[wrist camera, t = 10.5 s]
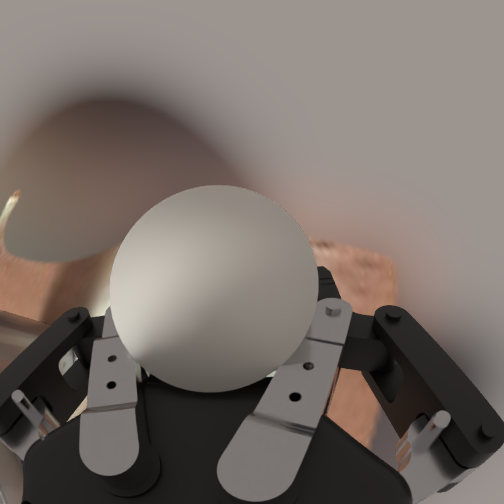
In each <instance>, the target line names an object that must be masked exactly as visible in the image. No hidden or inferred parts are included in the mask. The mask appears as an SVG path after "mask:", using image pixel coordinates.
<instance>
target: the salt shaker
mask: <svg viewBox="0 0 504 504" xmlns="http://www.w3.org/2000/svg"><path fill="white" fill-rule="evenodd" d="M109 296H110V308H111V313H112V318H113V321H114V324H115V327H116V330H117V332H118V334H119V337H120V339H121V341H122V343H123V344H124V346H125V347H126V349H127V350H128V352H129V353H130V354H131V356H132V357H133V358H134V359H135V360H136V361H137V362H138V363H139V364H140V365H141V366H142V367H143V368H144V369H145V370H147V371H148V372H149V373H150V374H152V375H154V376H155V377H157V378H158V379H160V380H162V381H164V382H166V383H168V384H170V385H173V386H175V387H178V388H182V389H185V390H189V391H197V392H224V391H230V390H235V389H238V388H242V387H245V386H248V385H250V384H253V383H255V382H257V381H259V380H261V379H263V378H265V377H266V376H268V375H269V374H271V373H272V372H274V371H277V369H278V367H279V366H281V365H282V364H283V363H284V362H285V361H287V360H288V359H289V357H290V356H291V355H292V354H293V353H294V352H295V350H296V349H297V348H298V347H299V345H300V343H301V342H302V340H303V339H304V337H305V335H306V334H307V331H308V329H309V327H310V325H311V322H312V320H313V316H314V313H315V309H316V306H317V298H318V271H317V264H316V260H315V256H314V253H313V250H312V247H311V245H310V243H309V241H308V239H307V237H306V235H305V233H304V232H303V230H302V229H301V227H300V226H299V224H298V223H297V222H296V221H295V220H294V218H293V217H292V216H291V215H290V214H289V213H288V212H287V211H286V210H284V209H283V208H282V207H281V206H280V205H278V204H277V203H275V202H274V201H272V200H271V199H269V198H267V197H265V196H263V195H261V194H259V193H256V192H254V191H251V190H248V189H244V188H240V187H235V186H225V185H210V186H202V187H197V188H192V189H189V190H185V191H182V192H180V193H177V194H174V195H173V196H171V197H168V198H167V199H165V200H163V201H162V202H160V203H158V204H157V205H155V206H154V207H153V208H151V209H150V210H149V211H148V212H146V213H145V214H144V215H143V216H142V217H141V218H140V219H139V220H138V221H137V222H136V223H135V225H134V226H133V227H132V229H131V230H130V231H129V232H128V234H127V236H126V237H125V239H124V241H123V242H122V244H121V246H120V248H119V250H118V253H117V255H116V258H115V261H114V264H113V267H112V273H111V278H110V289H109Z"/></svg>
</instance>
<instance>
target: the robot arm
mask: <svg viewBox="0 0 504 504" xmlns="http://www.w3.org/2000/svg"><path fill="white" fill-rule="evenodd" d="M317 271H318V298H317V306H316V309H315V313H314V316H313V320H312V322H311V325H310V327H309V329H308V331H307V334H306V335H305V337H304V339H303V340H302V342H301V343H300V345H299V347H298V348H297V349H296V350H295V352H294V353H293V354H292V355H291V356H290V357H289V359H288V360H287V361H285V362H284V363H283V364H282V365H281V366H279V367H278V369H277V371H276V373H275V375H274V377H265V378H263V379H261V380H259V381H257V382H255V383H253V384H250V385H248V386H245V387H242V388H238V389H235V390H230V391H224V392H197V391H189V390H185V389H182V388H178V387H175V386H173V385H170V384H168V383H166V382H164V381H162V380H160V379H158V378H157V377H155V376H154V375H152V374H150V373H149V372H148V371H147V370H145V369H144V368H143V367H142V366H141V365H140V364H139V363H138V362H137V361H136V360H135V359H134V358H133V357H132V356H131V354H130V353H129V352H128V350H127V349H126V347H125V346H124V344H123V343H122V341H121V339H120V337H119V334H118V332H117V330H116V327H115V324H114V321H113V318H112V313H111V308H110V307H109V308H108V309H107V310H106V313H105V316H98V317H92V318H91V317H90V314H89V312H88V310H87V309H86V308H83V307H78V308H73V309H71V310H69V311H67V312H66V313H64V314H63V315H62V316H61V317H60V318H59V319H57V320H56V321H55V322H54V323H53V324H52V325H48V324H45V323H43V322H40V321H36V320H32V319H29V318H26V317H22V316H19V315H16V314H13V313H9V312H6V311H1V310H0V442H1V443H2V444H3V445H4V446H5V447H6V448H8V449H9V450H10V451H12V452H13V453H14V454H15V455H16V456H18V457H19V458H20V459H21V460H22V461H23V495H22V501H21V504H417V503H419V502H420V501H422V500H424V499H426V498H428V497H429V496H431V495H432V494H434V493H436V492H445V491H448V490H450V489H451V488H452V487H454V486H455V485H457V484H458V483H459V482H461V481H462V480H463V479H464V478H466V477H467V476H468V475H470V474H471V473H472V472H473V471H475V470H476V469H477V468H478V467H479V466H480V465H482V464H483V463H484V462H485V461H486V460H487V459H488V458H490V457H491V456H492V455H493V454H494V453H495V452H496V451H497V450H498V449H499V448H500V447H501V446H502V445H503V443H504V422H503V421H502V419H501V418H500V416H499V415H498V414H497V413H496V411H495V410H494V409H493V408H492V406H491V405H490V404H489V402H488V401H487V400H486V399H485V398H484V396H483V395H482V394H481V393H480V391H479V390H478V389H477V388H476V387H475V386H474V384H473V383H472V382H471V381H470V380H469V379H468V377H467V376H466V375H465V374H464V373H463V372H462V370H461V369H460V368H459V367H458V366H457V365H456V363H455V362H454V361H453V360H452V359H451V358H450V357H449V356H448V354H447V353H446V352H445V351H444V350H443V349H442V348H441V347H440V346H439V345H438V343H437V342H435V340H434V339H433V338H432V337H431V336H430V335H429V334H428V333H427V332H426V331H425V330H424V328H423V327H422V326H421V325H420V324H419V323H418V322H417V321H416V320H415V319H414V318H413V317H412V316H411V315H410V314H409V313H408V312H407V311H406V310H404V309H403V308H400V307H397V306H392V305H386V306H382V307H380V308H378V309H377V310H376V311H375V314H374V316H369V315H362V314H357V313H355V312H352V307H351V305H350V304H349V303H348V302H346V301H344V300H342V299H341V296H340V294H339V292H338V289H337V287H336V284H335V282H334V279H333V277H332V275H331V272H330V271H329V270H327V269H326V268H325V267H324V266H320V267H317ZM72 348H73V350H74V352H75V354H76V356H77V358H78V359H77V360H76V361H75V362H74V364H73V350H72ZM341 368H346V369H352V370H359V371H361V373H362V375H363V377H364V378H365V380H366V382H367V383H368V385H369V387H370V388H371V390H372V392H373V393H374V395H375V397H376V398H377V400H378V402H379V403H380V405H381V407H382V408H383V410H384V412H385V414H386V415H387V417H388V419H389V420H390V422H391V424H392V426H393V427H394V429H395V431H396V432H397V434H398V436H399V437H400V439H401V440H400V441H399V443H398V444H397V447H396V452H395V454H396V458H397V461H398V471H396V470H395V469H394V468H392V467H391V466H390V465H388V464H387V463H385V462H384V461H383V460H381V459H380V458H379V457H378V456H376V455H375V454H374V453H372V452H371V451H370V450H368V449H367V448H366V447H364V446H363V445H362V444H361V443H359V442H358V441H357V440H356V439H354V438H353V437H352V436H351V435H349V434H348V433H347V432H346V431H344V430H343V429H342V428H341V427H339V426H338V425H337V424H336V423H335V422H333V421H332V420H331V419H330V418H329V417H327V414H328V411H329V407H330V404H331V401H332V397H333V394H334V391H335V388H336V384H337V381H338V378H339V374H340V371H341ZM87 395H88V397H87V407H86V409H85V410H84V411H83V412H82V413H81V414H79V415H78V416H76V417H75V418H73V419H71V420H70V421H68V419H69V418H70V417H71V415H72V414H73V413H74V412H75V410H76V409H77V408H78V406H79V405H80V404H81V403H82V401H83V400H84V399H85V397H86V396H87ZM67 421H68V422H67Z"/></svg>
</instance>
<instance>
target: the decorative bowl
mask: <svg viewBox="0 0 504 504" xmlns="http://www.w3.org/2000/svg"><path fill="white" fill-rule="evenodd" d="M22 495H23V465H22V463H21V460H20V458H19V457H18V456H16V455H15V454H14V453H13V452H12V451H10V450H9V449H8V448H6V447H5V446H4V445H3V444H2V443H1V442H0V504H21V501H22Z"/></svg>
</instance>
